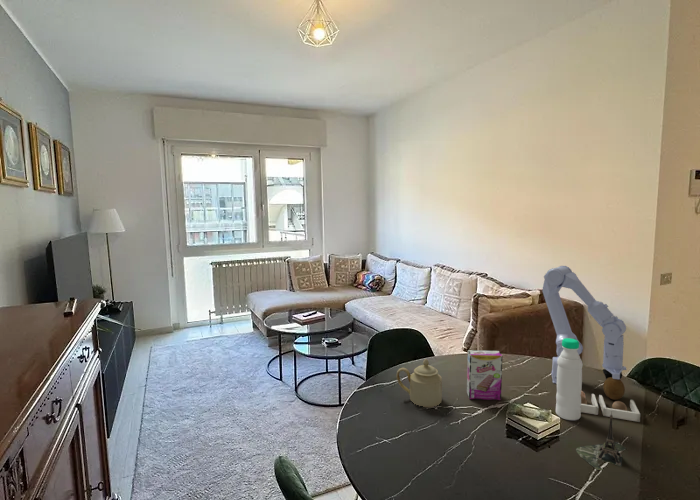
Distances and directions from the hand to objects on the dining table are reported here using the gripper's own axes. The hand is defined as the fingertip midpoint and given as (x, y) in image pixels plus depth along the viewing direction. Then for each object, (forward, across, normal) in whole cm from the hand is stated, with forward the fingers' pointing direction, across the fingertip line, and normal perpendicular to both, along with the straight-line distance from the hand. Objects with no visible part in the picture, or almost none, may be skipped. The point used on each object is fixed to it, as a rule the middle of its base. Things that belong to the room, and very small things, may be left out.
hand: (611, 390), depth 142 cm
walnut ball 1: (+1, -15, +11) cm, 19 cm away
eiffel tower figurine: (+2, -42, +7) cm, 42 cm away
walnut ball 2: (+1, -15, 0) cm, 15 cm away
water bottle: (+1, -22, +15) cm, 27 cm away
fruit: (+1, -4, 0) cm, 5 cm away
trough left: (+1, -13, +11) cm, 17 cm away
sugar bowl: (+1, -30, +61) cm, 68 cm away
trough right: (+1, -13, 0) cm, 13 cm away
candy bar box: (+1, -19, +41) cm, 45 cm away
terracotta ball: (+1, -10, +11) cm, 15 cm away
